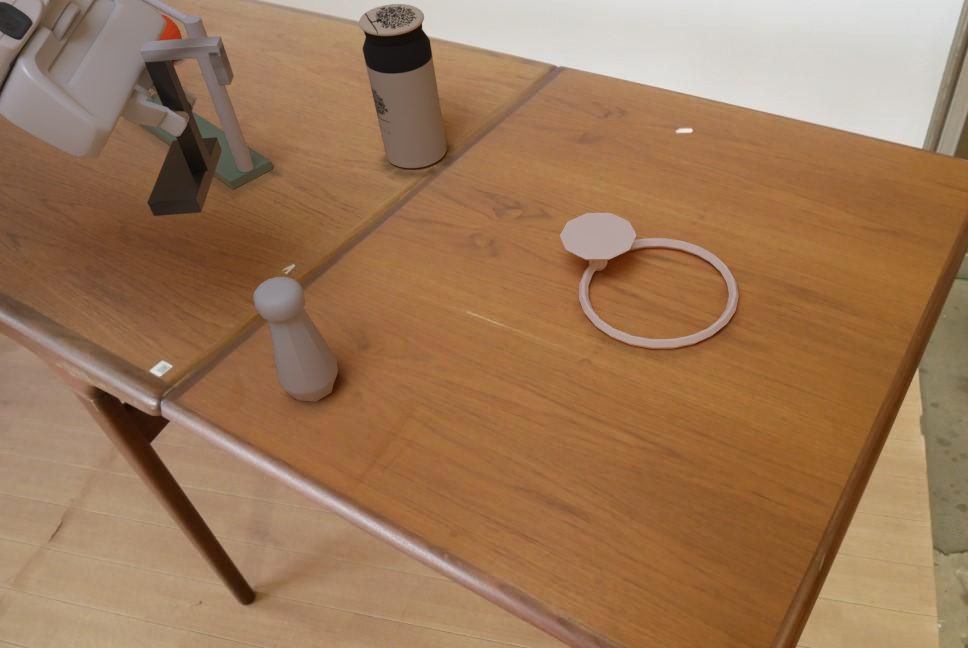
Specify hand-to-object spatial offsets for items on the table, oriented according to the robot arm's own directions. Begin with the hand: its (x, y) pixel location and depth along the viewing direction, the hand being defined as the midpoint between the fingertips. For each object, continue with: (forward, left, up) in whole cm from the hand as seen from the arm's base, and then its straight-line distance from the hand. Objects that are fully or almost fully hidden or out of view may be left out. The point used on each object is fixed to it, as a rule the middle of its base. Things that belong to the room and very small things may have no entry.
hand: (188, 118), depth 73 cm
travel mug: (+5, +32, -23) cm, 40 cm away
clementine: (-44, +49, -23) cm, 70 cm away
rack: (-26, +29, -23) cm, 46 cm away
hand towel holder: (+39, +12, -23) cm, 47 cm away
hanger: (-1, 0, -6) cm, 6 cm away
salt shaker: (+10, -9, -23) cm, 27 cm away
